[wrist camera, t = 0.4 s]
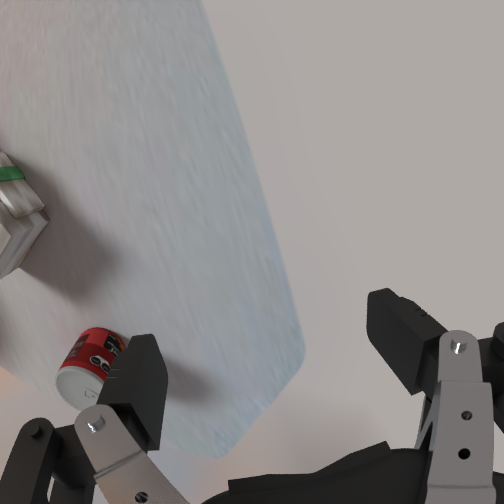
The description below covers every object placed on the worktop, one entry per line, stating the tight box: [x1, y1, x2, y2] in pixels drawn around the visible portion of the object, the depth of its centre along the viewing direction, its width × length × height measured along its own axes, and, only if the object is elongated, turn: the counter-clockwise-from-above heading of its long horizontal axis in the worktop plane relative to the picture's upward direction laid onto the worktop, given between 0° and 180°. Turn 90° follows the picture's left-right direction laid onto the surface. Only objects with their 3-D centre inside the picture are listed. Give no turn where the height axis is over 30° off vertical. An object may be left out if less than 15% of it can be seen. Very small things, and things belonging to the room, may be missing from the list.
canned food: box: [55, 328, 126, 411], centre depth 35 cm, size 8×8×11 cm
